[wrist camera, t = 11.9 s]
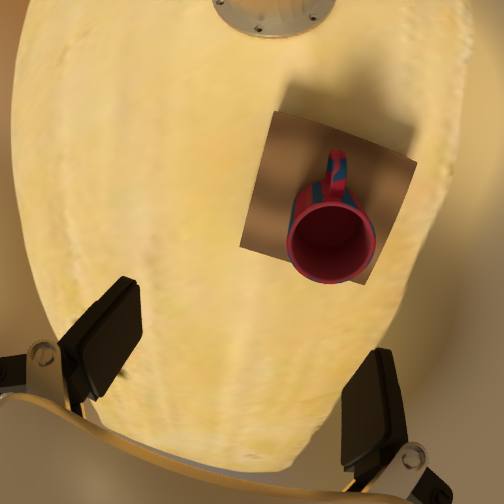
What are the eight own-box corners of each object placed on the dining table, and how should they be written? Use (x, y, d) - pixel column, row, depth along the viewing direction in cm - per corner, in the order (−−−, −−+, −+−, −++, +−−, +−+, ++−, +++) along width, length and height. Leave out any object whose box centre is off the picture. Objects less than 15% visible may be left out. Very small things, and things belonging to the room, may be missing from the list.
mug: (285, 239, 28) (278, 275, 22) (304, 138, 23) (304, 144, 17) (350, 253, 27) (360, 291, 21) (376, 155, 22) (399, 168, 16)
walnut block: (278, 112, 26) (274, 110, 22) (404, 156, 25) (417, 162, 22) (247, 231, 33) (239, 246, 29) (359, 267, 32) (364, 285, 28)
